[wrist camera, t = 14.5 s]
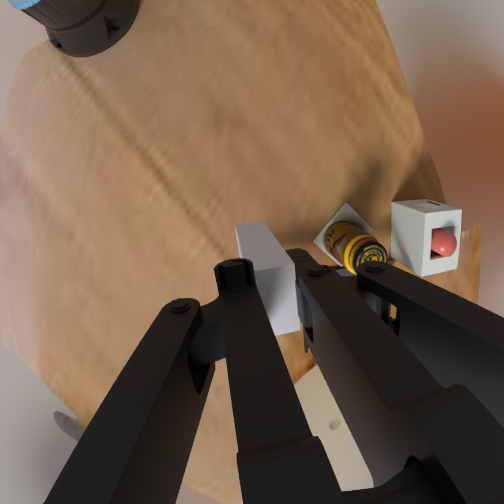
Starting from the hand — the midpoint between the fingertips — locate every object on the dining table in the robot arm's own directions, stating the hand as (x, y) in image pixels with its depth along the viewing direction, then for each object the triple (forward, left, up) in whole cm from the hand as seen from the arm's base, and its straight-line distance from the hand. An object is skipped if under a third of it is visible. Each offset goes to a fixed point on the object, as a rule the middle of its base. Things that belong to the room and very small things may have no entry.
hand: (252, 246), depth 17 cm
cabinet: (+10, +32, -32) cm, 46 cm away
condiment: (+10, +19, -32) cm, 38 cm away
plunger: (+10, +32, -29) cm, 44 cm away
